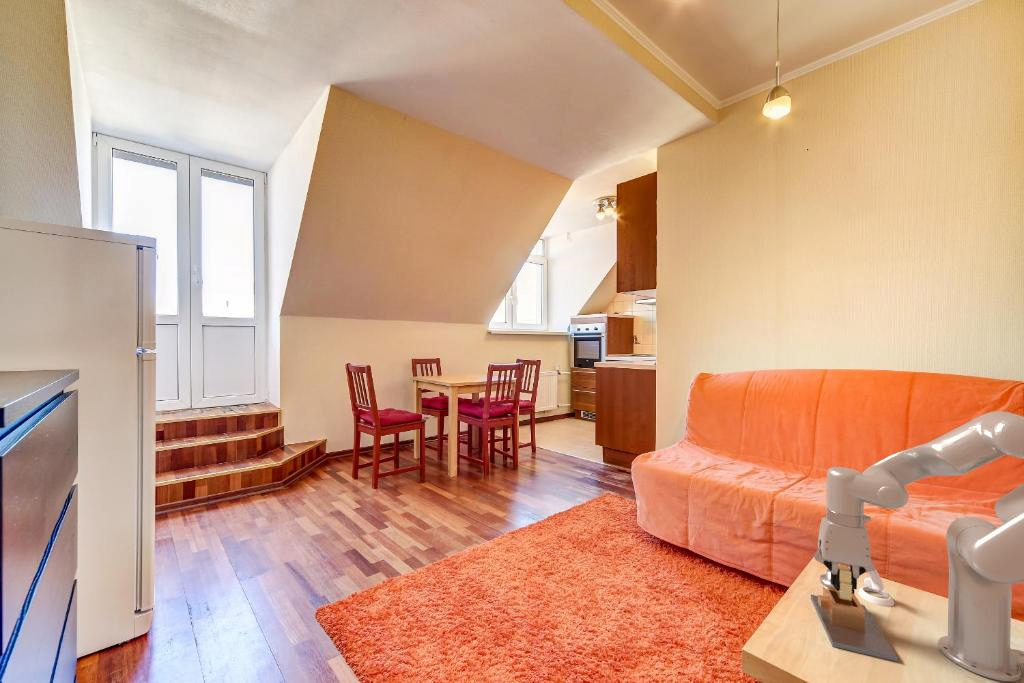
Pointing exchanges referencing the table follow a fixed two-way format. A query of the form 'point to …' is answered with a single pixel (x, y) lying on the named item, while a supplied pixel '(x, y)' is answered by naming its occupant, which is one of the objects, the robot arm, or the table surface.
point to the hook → (875, 590)
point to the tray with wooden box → (850, 623)
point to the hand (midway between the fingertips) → (843, 588)
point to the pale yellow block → (844, 583)
